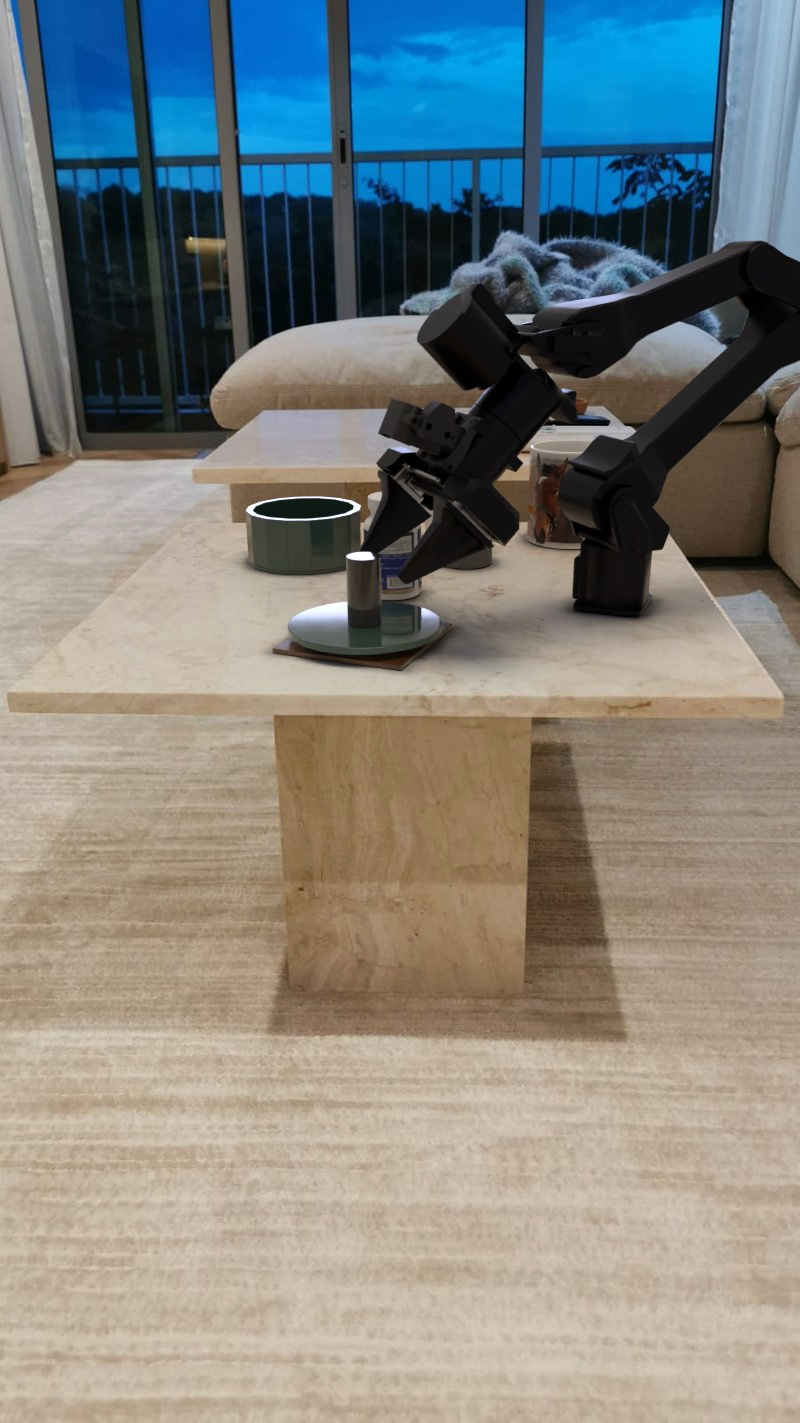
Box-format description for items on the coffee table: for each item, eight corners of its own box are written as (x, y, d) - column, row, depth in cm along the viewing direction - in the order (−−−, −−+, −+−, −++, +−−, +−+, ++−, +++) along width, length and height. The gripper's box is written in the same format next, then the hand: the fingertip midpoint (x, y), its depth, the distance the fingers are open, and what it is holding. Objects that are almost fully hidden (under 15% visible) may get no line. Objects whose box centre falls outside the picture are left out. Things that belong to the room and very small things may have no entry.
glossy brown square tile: (452, 627, 98) (452, 623, 98) (401, 670, 88) (401, 666, 87) (334, 613, 102) (334, 609, 102) (272, 652, 92) (272, 648, 92)
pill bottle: (384, 582, 112) (382, 487, 108) (432, 590, 109) (432, 492, 105) (354, 596, 107) (351, 497, 104) (403, 604, 105) (402, 502, 101)
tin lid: (393, 604, 103) (393, 530, 101) (472, 643, 92) (473, 562, 90) (263, 628, 97) (258, 550, 94) (330, 672, 86) (327, 586, 83)
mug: (593, 527, 134) (599, 437, 130) (637, 550, 123) (645, 452, 119) (514, 533, 132) (517, 441, 127) (552, 557, 121) (557, 457, 117)
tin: (379, 551, 124) (378, 501, 122) (331, 579, 113) (329, 524, 111) (283, 542, 129) (281, 493, 126) (228, 568, 118) (224, 515, 116)
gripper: (395, 354, 96) (284, 489, 97) (487, 371, 80) (353, 532, 81) (473, 437, 102) (368, 564, 103) (574, 468, 86) (449, 618, 87)
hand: (381, 567), depth 93 cm, fingers open, 9 cm apart
